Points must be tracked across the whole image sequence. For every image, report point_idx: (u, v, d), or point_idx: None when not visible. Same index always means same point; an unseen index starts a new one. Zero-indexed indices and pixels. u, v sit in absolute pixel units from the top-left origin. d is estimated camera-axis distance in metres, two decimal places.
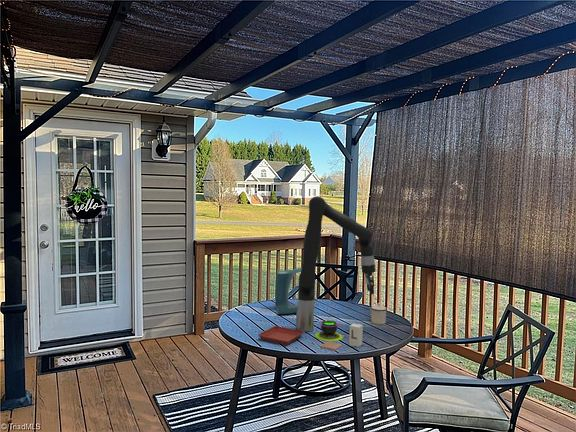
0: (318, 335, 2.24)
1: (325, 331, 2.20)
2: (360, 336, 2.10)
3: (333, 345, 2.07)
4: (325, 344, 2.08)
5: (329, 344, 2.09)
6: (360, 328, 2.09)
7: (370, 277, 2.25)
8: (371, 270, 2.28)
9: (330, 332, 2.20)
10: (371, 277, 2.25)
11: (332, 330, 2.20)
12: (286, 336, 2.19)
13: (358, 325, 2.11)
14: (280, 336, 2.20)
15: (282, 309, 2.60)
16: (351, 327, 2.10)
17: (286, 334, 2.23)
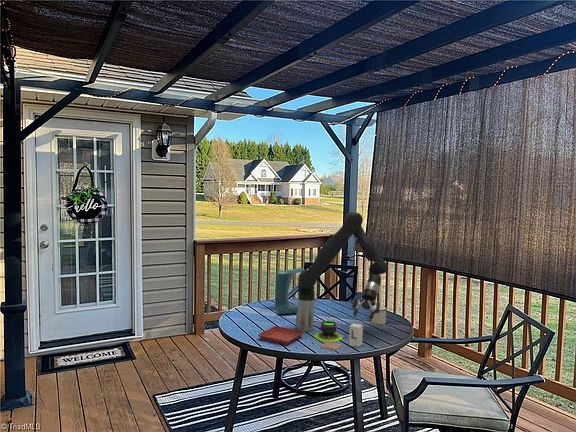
0: (317, 335, 2.24)
1: (324, 331, 2.20)
2: (360, 336, 2.10)
3: (333, 345, 2.07)
4: (325, 344, 2.08)
5: (329, 344, 2.09)
6: (360, 328, 2.09)
7: (379, 303, 2.20)
8: (375, 299, 2.25)
9: (329, 332, 2.19)
10: (379, 304, 2.21)
11: (331, 330, 2.19)
12: (286, 336, 2.19)
13: (358, 325, 2.11)
14: (280, 336, 2.20)
15: (282, 309, 2.60)
16: (351, 327, 2.10)
17: (286, 334, 2.23)
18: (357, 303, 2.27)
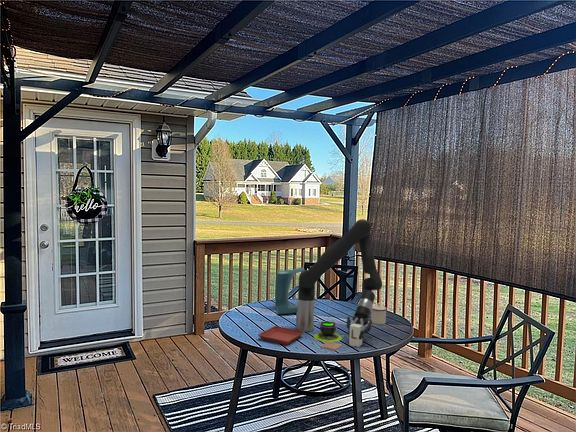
0: (317, 336, 2.23)
1: (324, 332, 2.19)
2: None
3: (333, 345, 2.07)
4: (325, 344, 2.08)
5: (329, 344, 2.09)
6: (360, 328, 2.09)
7: (372, 323, 2.12)
8: None
9: (329, 333, 2.18)
10: (372, 324, 2.12)
11: (331, 331, 2.18)
12: (286, 336, 2.19)
13: (358, 325, 2.11)
14: (280, 336, 2.20)
15: (282, 309, 2.60)
16: (351, 327, 2.10)
17: (286, 334, 2.23)
18: (350, 322, 2.18)
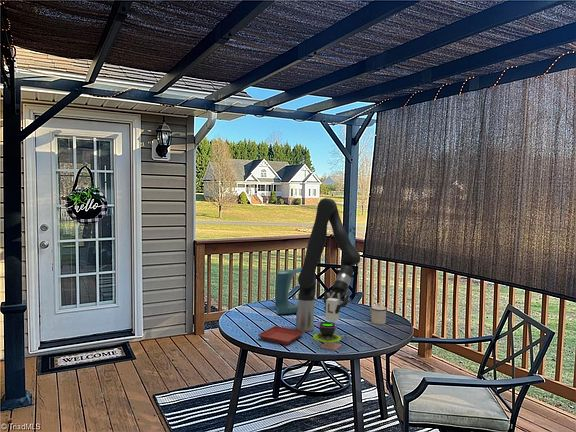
0: (316, 336, 2.22)
1: (323, 332, 2.18)
2: None
3: (333, 345, 2.07)
4: (325, 344, 2.08)
5: (329, 344, 2.09)
6: (336, 302, 2.05)
7: (349, 297, 2.07)
8: (346, 291, 2.12)
9: (328, 333, 2.18)
10: (349, 298, 2.08)
11: (330, 331, 2.18)
12: (286, 336, 2.19)
13: (335, 299, 2.07)
14: (280, 336, 2.20)
15: (282, 309, 2.60)
16: (327, 301, 2.06)
17: (286, 334, 2.23)
18: (327, 297, 2.14)
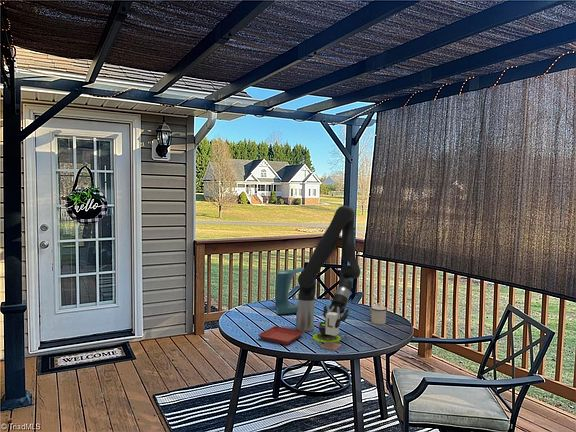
0: (316, 336, 2.22)
1: (323, 332, 2.18)
2: None
3: (333, 345, 2.07)
4: (325, 344, 2.08)
5: (329, 344, 2.09)
6: (336, 316, 2.05)
7: (348, 311, 2.07)
8: None
9: None
10: (348, 312, 2.08)
11: None
12: (286, 336, 2.19)
13: (334, 313, 2.07)
14: (280, 336, 2.20)
15: (282, 309, 2.60)
16: (327, 315, 2.06)
17: (286, 334, 2.23)
18: None
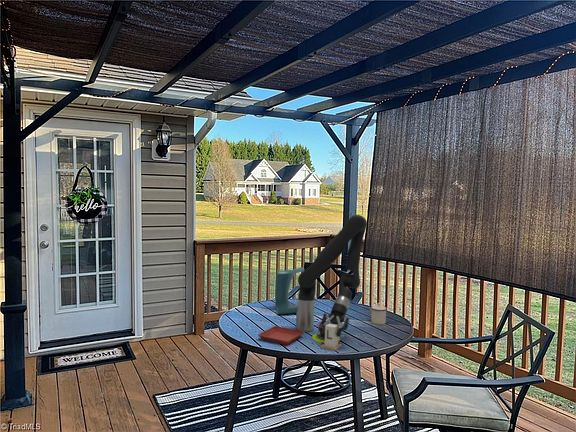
0: (315, 337, 2.21)
1: (322, 333, 2.17)
2: (335, 336, 2.06)
3: None
4: None
5: None
6: (335, 328, 2.06)
7: (348, 319, 2.08)
8: (345, 314, 2.13)
9: None
10: (348, 320, 2.08)
11: None
12: (286, 336, 2.19)
13: (334, 325, 2.07)
14: (280, 336, 2.20)
15: (282, 309, 2.60)
16: (326, 327, 2.06)
17: (286, 334, 2.23)
18: None
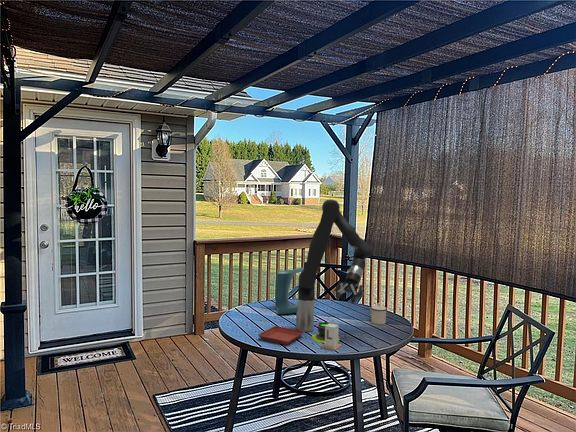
0: (315, 337, 2.21)
1: (322, 333, 2.17)
2: (335, 336, 2.06)
3: None
4: None
5: None
6: (335, 328, 2.06)
7: (362, 287, 2.17)
8: (359, 282, 2.21)
9: None
10: (362, 287, 2.17)
11: None
12: (286, 336, 2.19)
13: (334, 325, 2.07)
14: (280, 336, 2.20)
15: (282, 309, 2.60)
16: (326, 327, 2.06)
17: (286, 334, 2.23)
18: (340, 287, 2.24)
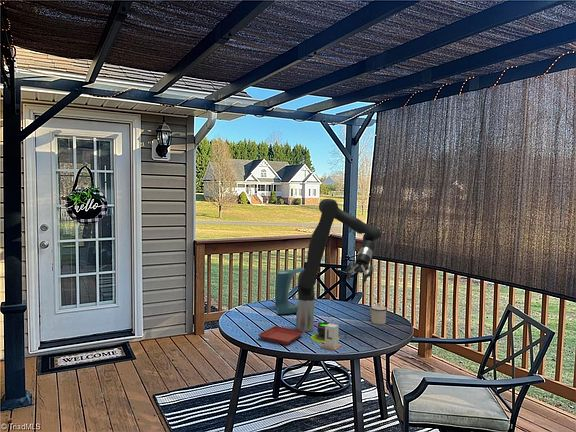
0: (314, 337, 2.21)
1: (321, 333, 2.17)
2: (335, 336, 2.06)
3: None
4: None
5: None
6: (335, 328, 2.06)
7: (372, 267, 2.23)
8: None
9: None
10: (372, 268, 2.24)
11: None
12: (286, 336, 2.19)
13: (334, 325, 2.07)
14: (280, 336, 2.20)
15: (282, 309, 2.60)
16: (326, 327, 2.06)
17: (286, 334, 2.23)
18: None
